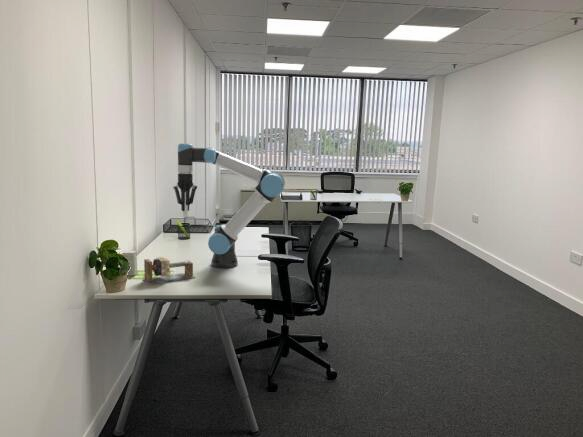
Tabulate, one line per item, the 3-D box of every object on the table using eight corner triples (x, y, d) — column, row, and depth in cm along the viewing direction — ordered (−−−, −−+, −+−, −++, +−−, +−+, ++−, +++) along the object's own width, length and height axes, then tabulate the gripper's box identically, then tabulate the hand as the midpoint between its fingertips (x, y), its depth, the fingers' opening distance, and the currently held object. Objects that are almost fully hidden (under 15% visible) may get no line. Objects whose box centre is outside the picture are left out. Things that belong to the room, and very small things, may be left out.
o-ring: (156, 272, 220) (156, 257, 219) (161, 276, 214) (161, 261, 213) (152, 273, 219) (152, 257, 218) (158, 277, 213) (157, 261, 212)
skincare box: (137, 273, 228) (137, 250, 226) (135, 275, 224) (134, 252, 222) (125, 273, 228) (124, 250, 226) (122, 275, 223) (121, 252, 221)
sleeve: (164, 271, 223) (164, 256, 221) (169, 275, 216) (169, 260, 215) (156, 272, 220) (156, 257, 219) (161, 276, 214) (161, 261, 213)
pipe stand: (188, 273, 231) (188, 253, 229) (194, 277, 224) (194, 257, 222) (142, 280, 217) (142, 258, 216) (148, 285, 210) (148, 263, 208)
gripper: (194, 172, 236) (193, 215, 240) (170, 172, 228) (171, 216, 232) (199, 173, 230) (199, 217, 234) (175, 173, 222) (176, 218, 226)
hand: (185, 216), depth 233 cm, fingers closed
